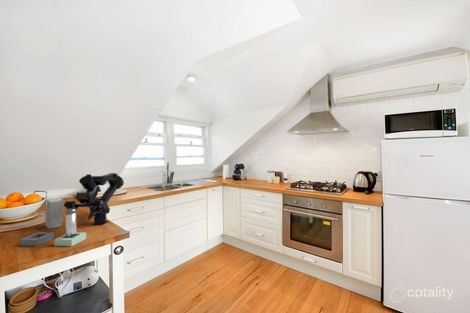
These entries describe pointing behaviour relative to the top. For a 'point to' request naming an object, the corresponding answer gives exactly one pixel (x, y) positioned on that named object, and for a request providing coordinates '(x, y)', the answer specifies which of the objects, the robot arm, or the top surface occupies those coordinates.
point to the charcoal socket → (36, 239)
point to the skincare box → (54, 213)
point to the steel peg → (71, 223)
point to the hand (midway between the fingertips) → (78, 220)
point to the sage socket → (69, 240)
